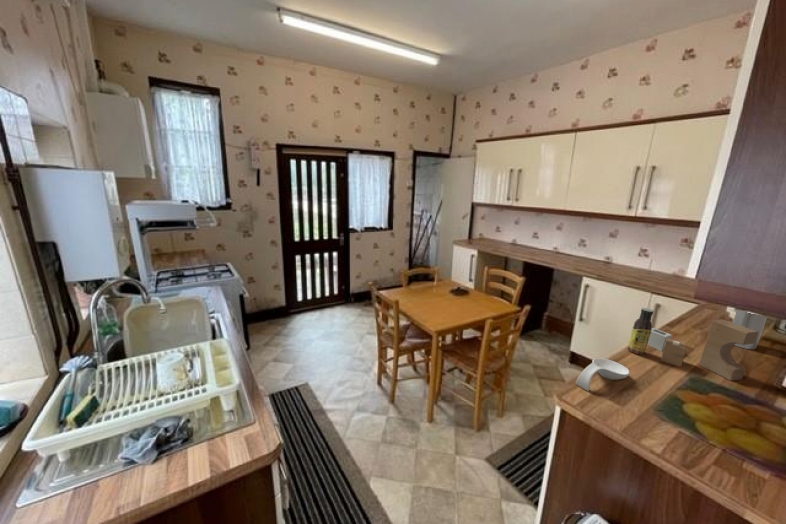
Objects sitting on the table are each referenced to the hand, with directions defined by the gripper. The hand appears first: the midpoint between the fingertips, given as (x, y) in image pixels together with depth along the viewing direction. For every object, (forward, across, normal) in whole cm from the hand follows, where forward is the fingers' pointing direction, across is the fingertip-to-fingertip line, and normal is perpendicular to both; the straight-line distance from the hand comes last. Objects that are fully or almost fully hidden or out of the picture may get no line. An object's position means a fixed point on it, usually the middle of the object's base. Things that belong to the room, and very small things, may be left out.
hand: (733, 290), depth 119 cm
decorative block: (+32, -4, +4) cm, 33 cm away
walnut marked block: (+32, +10, +10) cm, 35 cm away
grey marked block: (+32, +18, +1) cm, 37 cm away
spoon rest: (+32, +21, +49) cm, 62 cm away
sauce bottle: (+32, +21, +14) cm, 41 cm away
